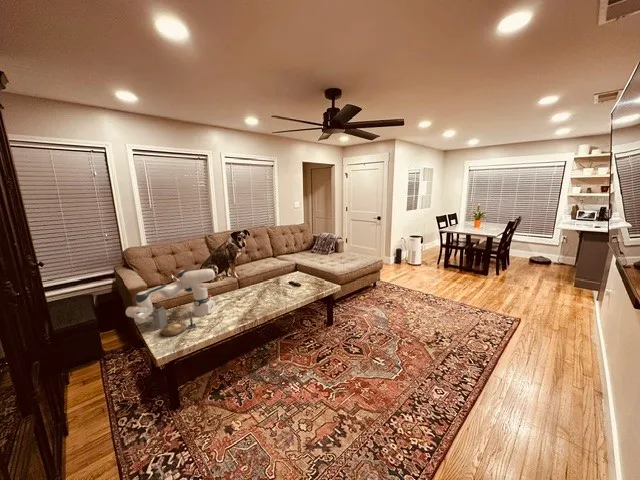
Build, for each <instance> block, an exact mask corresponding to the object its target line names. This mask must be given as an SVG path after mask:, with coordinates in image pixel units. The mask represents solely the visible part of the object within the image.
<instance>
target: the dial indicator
mask: <svg viewBox="0 0 640 480" xmlns="http://www.w3.org/2000/svg"><path fill="white" fill-rule="evenodd" d="M193 311H194V308H193V306H190V305H189V306H188V307H187V308H186V313H188V314H189V323H190V324H188V325H187V327H188V330H192V329H196V323H193V314H192V313H193Z"/></svg>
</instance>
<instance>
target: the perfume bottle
mask: <svg viewBox="0 0 640 480" xmlns="http://www.w3.org/2000/svg"><path fill="white" fill-rule="evenodd" d="M154 307H155V308H154ZM154 307H153V308H154V309H153V312H152V316H154V319H152V326H153V329H157V330H162V329H163V328H164V327H165V326H167V325H169V324H168V323H169V322H168V317H167V315H168V314H167V310H166V309H165V307H164V306H162V304H160V303H159V304H156V305H154Z"/></svg>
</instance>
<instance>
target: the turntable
mask: <svg viewBox="0 0 640 480" xmlns="http://www.w3.org/2000/svg"><path fill="white" fill-rule="evenodd" d="M186 329H187V324H186V323H185V322H183V321H178V322H176V321H175V322H172V323H169V324H168V325H167V326H165V327H164V328H162V329H161V334H162V335H163V336H166V337H173V336H177V335H180V334H182V333H184V332H185V330H186Z"/></svg>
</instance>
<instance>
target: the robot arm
mask: <svg viewBox="0 0 640 480" xmlns="http://www.w3.org/2000/svg"><path fill="white" fill-rule="evenodd" d="M176 276H177V279H178V280H177V281H173V282H172V283H169V284H168V285H165V284H160V285H157V286H154V287H152V288H148V289H145V290H143V291H139V292H137V293H135V296H134V297H133V298H134V301H135V303H136V304H137V305H135V306H128V307H127V308H126V310H125V315H126V316H127V317H128V318H132V319H134V321H135V323H144V322H145V323H146V322H147V321H149V320H153V319H154V316H152V312H153V309H154V308H155V306H154V305H153V303H152V300H151V295H154V294H156V293H159V294H160V295H162V296H163V297H164V298H167V299H168V298H169V299H170V298H173V297H174V296H175V295H177V294H178V293H180V292H181V291H182V290H183V291H184V292H187V293H190V292H192V293H193V304H192V305H193V306H192V307H193V308H194V311H193V312H192V313H193V316H196V317H203V316H206V315H210V314H211V315H212V314H213V313H214V312H215V311H216V310H217V309H218V307H219V305H218V304H216V302H215V300H213V299H211V297H212V295H211V294H208V288H207V286H205V285H202V284H199V283H204V282H209V281H212V280H214V278H215V276H216V273H215V270H214V269H212V268H202V269H195V270H188V269H181V270H180V271H179V272H178V273H177V275H176Z"/></svg>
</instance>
